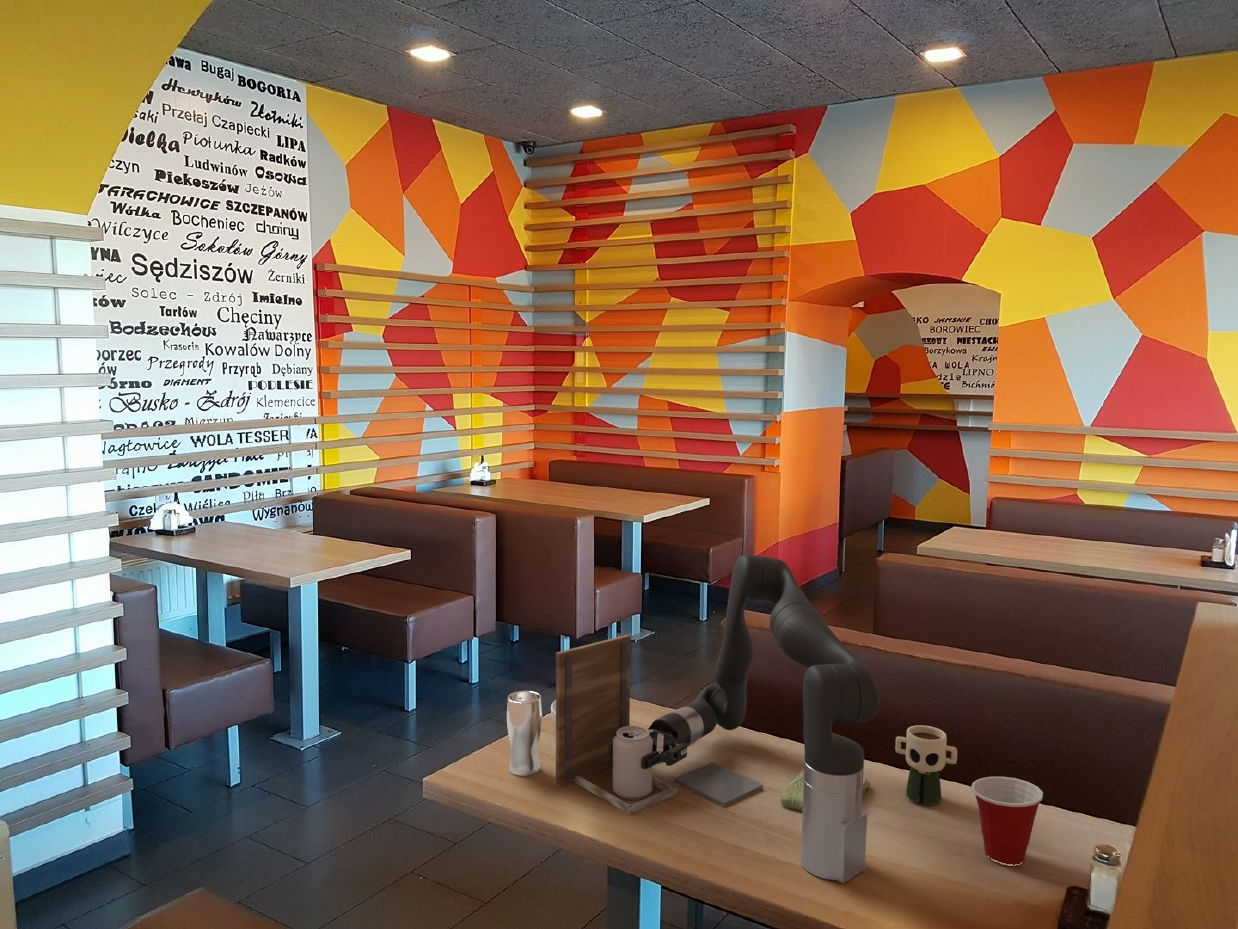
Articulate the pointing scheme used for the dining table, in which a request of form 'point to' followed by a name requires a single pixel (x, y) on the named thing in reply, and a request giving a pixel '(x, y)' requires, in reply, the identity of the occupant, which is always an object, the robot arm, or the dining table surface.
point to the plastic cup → (1006, 816)
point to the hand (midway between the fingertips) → (626, 757)
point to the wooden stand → (594, 715)
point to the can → (631, 762)
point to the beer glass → (524, 731)
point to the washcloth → (801, 792)
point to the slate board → (718, 784)
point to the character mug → (925, 761)
